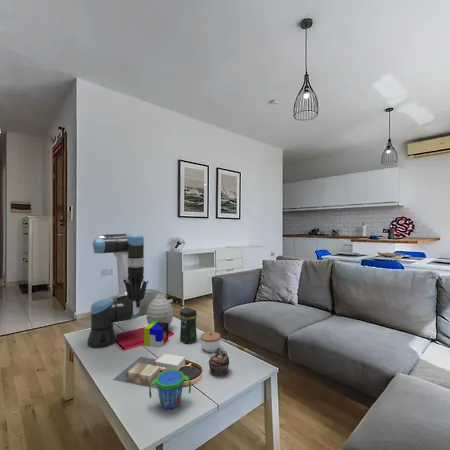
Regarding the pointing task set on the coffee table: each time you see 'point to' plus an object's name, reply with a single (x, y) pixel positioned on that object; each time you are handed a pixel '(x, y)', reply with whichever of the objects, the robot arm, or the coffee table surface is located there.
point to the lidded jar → (210, 341)
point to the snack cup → (170, 387)
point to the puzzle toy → (156, 334)
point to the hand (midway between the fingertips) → (135, 313)
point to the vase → (160, 310)
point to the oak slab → (142, 373)
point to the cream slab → (170, 361)
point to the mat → (122, 375)
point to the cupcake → (219, 363)
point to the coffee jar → (188, 325)
